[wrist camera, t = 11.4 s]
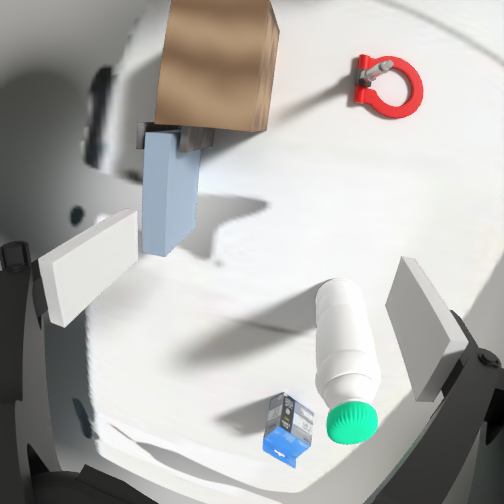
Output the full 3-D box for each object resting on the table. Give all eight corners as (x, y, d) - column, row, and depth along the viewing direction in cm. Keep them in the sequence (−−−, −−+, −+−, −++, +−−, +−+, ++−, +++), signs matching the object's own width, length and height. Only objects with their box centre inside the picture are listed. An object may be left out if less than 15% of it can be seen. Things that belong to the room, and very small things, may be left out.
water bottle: (346, 323, 49) (360, 459, 26) (307, 306, 48) (299, 443, 26) (370, 287, 46) (406, 420, 23) (329, 268, 46) (341, 401, 23)
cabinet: (184, 28, 36) (145, 2, 25) (279, 31, 34) (269, -2, 23) (170, 142, 42) (127, 150, 31) (263, 152, 41) (247, 162, 30)
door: (181, 129, 41) (144, 132, 31) (202, 130, 41) (170, 133, 31) (175, 224, 47) (141, 252, 37) (195, 227, 47) (165, 257, 37)
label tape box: (314, 412, 57) (312, 462, 46) (299, 420, 59) (294, 469, 48) (284, 391, 56) (277, 442, 45) (269, 399, 58) (259, 450, 46)
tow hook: (422, 67, 33) (358, 49, 34) (468, 52, 21) (384, 22, 22) (416, 124, 36) (351, 108, 37) (461, 129, 25) (376, 103, 25)
